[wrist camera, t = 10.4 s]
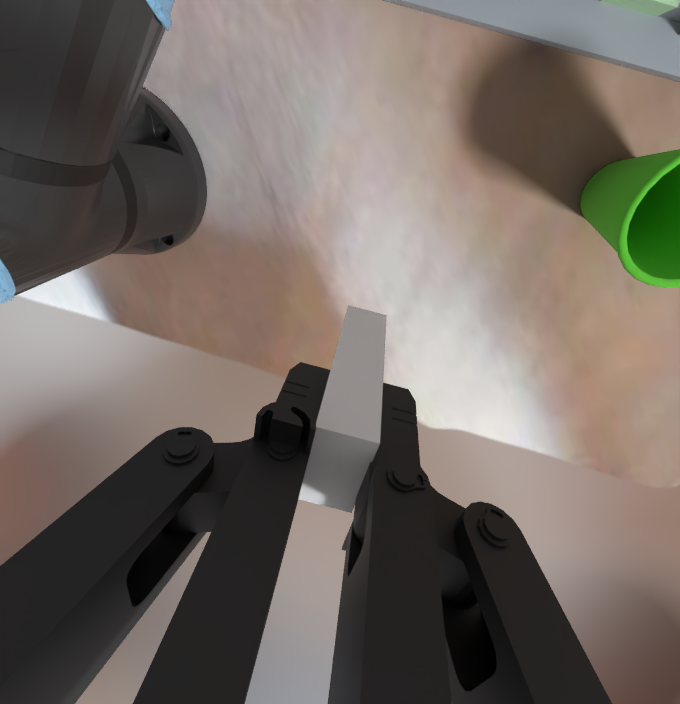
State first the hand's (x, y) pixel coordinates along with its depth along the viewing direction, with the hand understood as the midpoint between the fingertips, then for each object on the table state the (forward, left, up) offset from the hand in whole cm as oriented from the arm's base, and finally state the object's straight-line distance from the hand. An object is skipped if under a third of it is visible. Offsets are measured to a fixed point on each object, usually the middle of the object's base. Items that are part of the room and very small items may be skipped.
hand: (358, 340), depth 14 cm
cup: (+19, +7, -25) cm, 32 cm away
